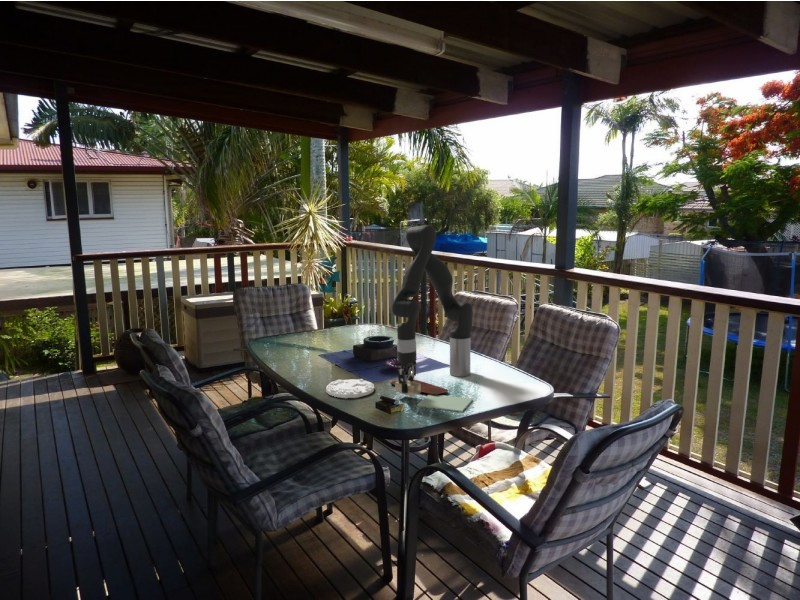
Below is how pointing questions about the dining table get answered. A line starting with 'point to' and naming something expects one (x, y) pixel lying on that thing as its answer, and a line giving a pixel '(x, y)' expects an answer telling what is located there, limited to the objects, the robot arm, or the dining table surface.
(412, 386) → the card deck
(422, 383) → the wooden tablet
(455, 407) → the mat
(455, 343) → the robot arm
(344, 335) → the dining table surface
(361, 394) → the embossed medallion
